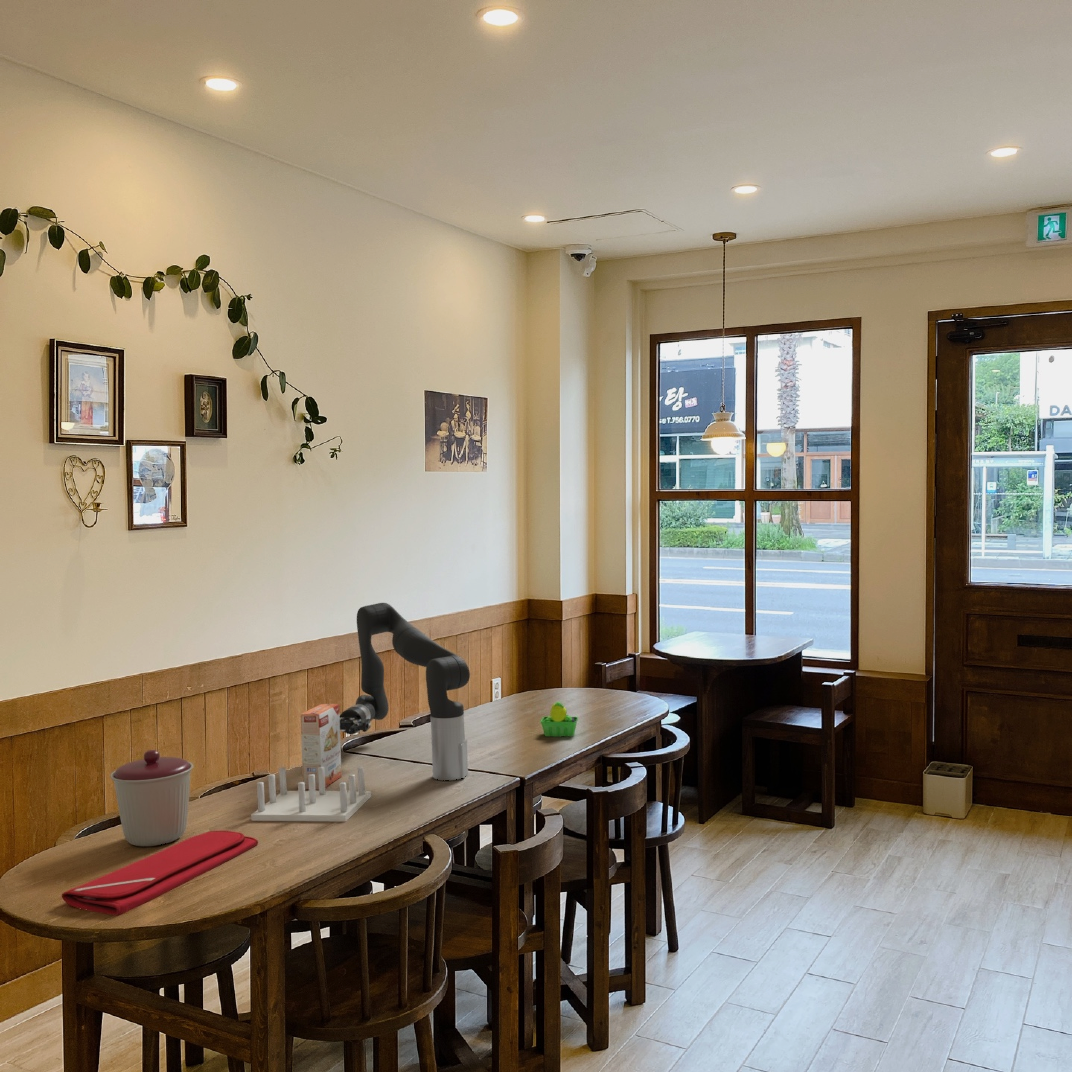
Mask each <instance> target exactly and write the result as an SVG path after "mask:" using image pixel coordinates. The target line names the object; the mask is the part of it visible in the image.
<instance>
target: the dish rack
mask: <svg viewBox="0 0 1072 1072" xmlns="http://www.w3.org/2000/svg"><path fill="white" fill-rule="evenodd" d="M278 771H279V773H278V774H279V791H280V792H279V793H278V794H277V793H276V791H277V790H276V775H275V773H274V774H273V773H271V774H268V796H269V801H268V802H266V803H265V786H264V784H265V783H264V781H257V782H256V789H257V791H256V792H257V793H256V796H257V810H256V811H253V813H251V814H250V818H251V819H250V820H251V821H252V822H253V821H254V822H255V821H256V822H257V821H258V822H340V823H341V822H345V823H346V822H347V821H348V820H349V819H350V818H351V817H352V816H353V815H354V814H355V813H357V811H359V809H360V808H361V807H362V806H363V805H364V804H365V803H367V802H368V800H369V799H371V797H372V793H371V790H366V788H365V787H366V785H365V767H364V766H359V767H357V785H358V787H357V786H356V774H348V788H349V789H348V790H347V782H339V784H338V785H339V790H326V788H325V769H324V767H319V768H318V776H319V790H315V775H314V774H310V775H308V780H309V790H305V783H304V782H303V781H299V782H298V783H297V787H298V788H297V789H298V790H287V775H286V774H287V772H286V771H287V769H286V766H281V767H279V768H278Z"/></svg>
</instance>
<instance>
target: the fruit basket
mask: <svg viewBox="0 0 1072 1072" xmlns="http://www.w3.org/2000/svg"><path fill="white" fill-rule="evenodd" d="M567 711H568V710H567V709H566V707H565V706H564V705H563V704H562V703H561V701H556V702H555V703H553V704H552V705H551V709H550V712H549V713H550V714H549V715H550V716H543V717H542V719H541V720H540V724H541V728H542V730H543V733H544V736H545V737H561V736H566V737H567V736H571V737H572V738H573V737H574V735H575V733H576V728H577V722H578V720H579V717H578V716H571V715H568V714H567Z"/></svg>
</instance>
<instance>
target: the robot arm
mask: <svg viewBox="0 0 1072 1072" xmlns="http://www.w3.org/2000/svg"><path fill="white" fill-rule="evenodd" d="M356 630H357V638H358V644H359V653H360V659H361V677H360V678H361V679H360V682H361V683H360V688H361V690H362V692H364V693H365V694H362V695H359V696H358V697H357V699H356V701H355V704H353V705H351V706H350V707H348V708H347V709H345V710H343V711H342V712H341V713H340V732H343V733H345V734H348V735H351V736H352V735H355V734H357V733H360V732H361V731H362V732H364V733H365V732H367V731H369V729H371V726H372V725H371V722H372V721H373V720H376V721H382V720H384V719H385V718H386V717H387V715H388V713H389V701H388V697H387V695H386V689H385V686H384V683H385V682H384V681H385V679H384V678H385V669H384V668H385V667H384V666H385V665H384V663H383V662H382V660H381V658H380V656H379V655H378V654H377V652H376V651H375V649H374V647H373V644H372V637H373V636H375V635H378V634H383V633H391V634H392V638H391V641H392V647H393V650H394V651H395V653H397V655H399V656H400V657H401V658H403V659H404V660H405V661H407V662H409V663H410V664H412V665H416V666H420V667H422V668H425V682H426V683H425V684H426V692H427V693H426V694H427V704H428V707H429V712H430V734H431V735H430V736H431V737H430V738H431V758H432V759H431V760H432V761H431V762H432V777H433V779H435V780H437V779H438V781H443V780H444V781H445V780H449V781H457V780H462V779H461V778H464V779H465V778H466V777H467V776H468V774H469V764H468V763H469V762H468V740H467V739H466V735H465V709H464V705H463V703H462V702H460V701H457V700H456V701H455V700H451V699H449V697H448V692H447V691H453V690H457V689H461V688H464V687H465V686H467V684H468V683H469V681H470V679H471V677H470V676H471V674H470V669H469V666H468V664H467V662H466V661H465V660H464V658H462V657H461V656H459V655H458V654H456V653H454V652H452V651H450V650H448V649H446V648H444V647H443V646H441V645H440V644H439V643H437V642H435V641H434V640H433V639H432V638H430V637H429V636H427V635H426V634H425V633H423V632H422V631H421V630H420V629H418V628H417V627H415V626H414V625H413V624H411V623H410V622H409V621H407V619H405V618H404V617H403V616H402V615H401V614H400V613H399V612H398V611H397V610H396V609H395V608H394V607H393V606H392V605H391V604H390V603H387V602H378V603H373V604H369V605H364V606H361V607H359V609H358V610H357V613H356ZM465 776H466V777H465ZM456 779H457V780H456Z"/></svg>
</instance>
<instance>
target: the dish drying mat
mask: <svg viewBox="0 0 1072 1072" xmlns="http://www.w3.org/2000/svg"><path fill="white" fill-rule="evenodd" d="M258 843H259V840H258V839H257V838H255V837H252V836H246V835H245V834H244V833H242V832H236V831H231V830H210V831H206V832H204V833H200V834H198V835H197V834H196V835H194V836H190V837H188V838H186V839H185V840H182V841H180V842H178V843H175V844H174V845H171V846H169V847H167V848H164V849H163V850H161V851H159V852H156V853H154V854H151V855H149V856H147V857H144V858H142V859H139V860H137V861H134V862H132V863H130V864H128V865H126V866H123V867H121V868H119V869H116V870H114V871H112V872H109V873H106V874H105V875H103V876H100V877H97V878H95V879H93V880H90V881H88V882H85V883H84V884H83V883H82V884H81V885H79V886H75V887H73V888H71V889H68V890H67V891H64V892H63V893H62V894H61V898H62V900H63V901H64V902H65V903H67V904H68V905H69V906H70V907H72V906H73V907H72V908H74V907H77V908H81V909H80V910H82V909H87V910H86V911H88V910H90V911H89V912H96V913H102V914H106V915H113V916H116V917H117V916H120V915H122V914H125V913H127V912H129V911H131V910H133V909H135V908H137V907H139V906H142V905H143V904H146V903H147V902H149V901H151V900H153V899H156V898H158V897H159V896H162V895H163V894H166V893H168V892H171V890H174V889H175V888H178V887H181V886H182V885H183V884H185V883H187V882H189V881H191V880H193V879H196V878H197V877H199V876H201V875H203V874H205V873H207V872H209V871H211V870H213V869H215V868H216V867H219V866H220V865H222V864H224V863H225V862H228V861H230V860H231V859H234V858H236V857H238V856H239V855H241V854H244V853H245V852H247V851H248V850H250V849H252V848H254V847H256V846H258V845H259V844H258ZM77 908H76V909H77Z"/></svg>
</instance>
